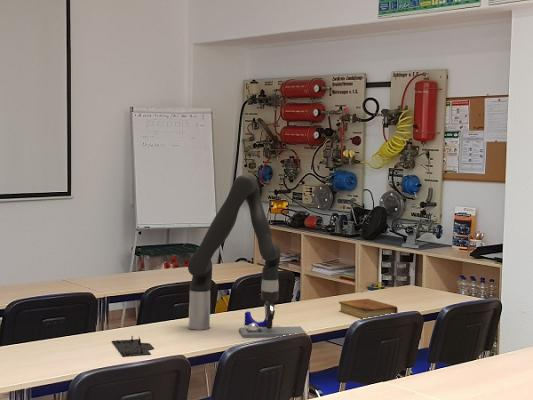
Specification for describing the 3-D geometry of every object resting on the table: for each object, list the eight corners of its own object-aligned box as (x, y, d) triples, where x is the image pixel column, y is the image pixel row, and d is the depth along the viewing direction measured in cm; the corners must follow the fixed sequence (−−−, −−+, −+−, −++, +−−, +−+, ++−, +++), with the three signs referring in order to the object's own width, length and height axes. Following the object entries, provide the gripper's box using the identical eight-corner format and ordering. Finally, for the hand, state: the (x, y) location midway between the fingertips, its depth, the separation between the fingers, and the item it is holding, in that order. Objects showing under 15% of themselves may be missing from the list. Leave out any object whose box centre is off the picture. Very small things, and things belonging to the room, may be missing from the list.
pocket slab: (242, 337, 359) (242, 334, 359) (238, 330, 371) (238, 327, 371) (306, 336, 363) (306, 333, 363) (300, 329, 376) (300, 326, 376)
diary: (397, 318, 406) (397, 306, 406) (366, 321, 397) (367, 309, 397) (368, 309, 426) (368, 298, 426) (338, 312, 417) (339, 301, 416)
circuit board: (111, 342, 348) (111, 335, 348) (145, 340, 353) (145, 333, 353) (122, 358, 325) (122, 350, 324) (158, 355, 330) (158, 347, 330)
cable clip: (272, 326, 383) (272, 313, 382) (268, 328, 379) (268, 315, 378) (248, 323, 387) (248, 310, 387) (244, 325, 383) (244, 312, 383)
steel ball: (246, 328, 363) (255, 321, 363) (244, 326, 367) (253, 319, 368) (252, 337, 363) (262, 331, 364) (251, 335, 368) (260, 328, 369)
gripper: (259, 286, 372) (258, 325, 373) (263, 292, 358) (263, 332, 360) (275, 286, 373) (274, 324, 374) (281, 292, 360) (280, 331, 361)
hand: (269, 328), depth 367 cm, fingers closed
